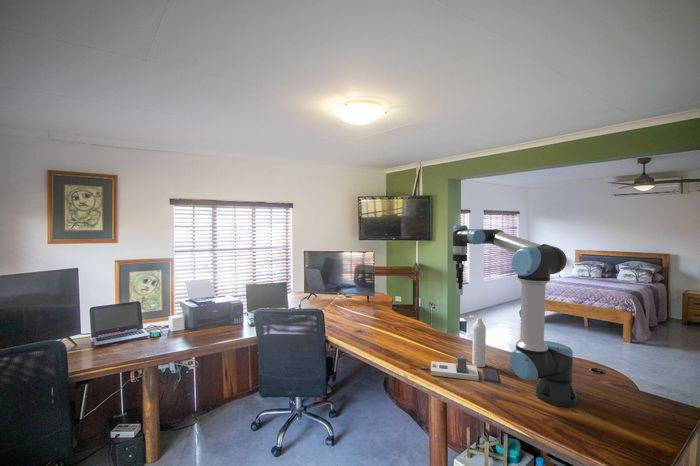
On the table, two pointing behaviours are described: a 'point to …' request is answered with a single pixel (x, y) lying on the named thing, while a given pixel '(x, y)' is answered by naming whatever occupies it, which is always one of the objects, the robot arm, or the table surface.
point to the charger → (461, 364)
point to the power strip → (452, 371)
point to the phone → (490, 375)
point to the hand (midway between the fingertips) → (459, 292)
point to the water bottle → (478, 343)
